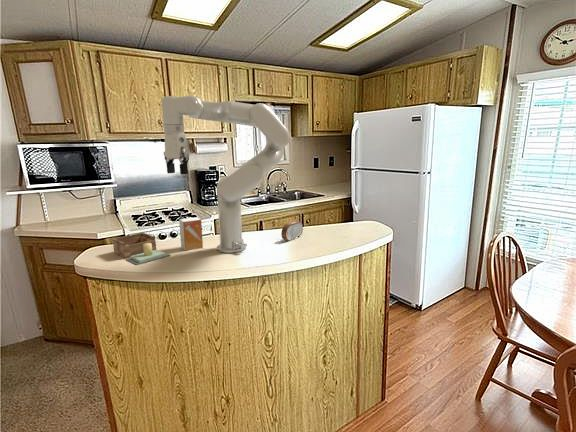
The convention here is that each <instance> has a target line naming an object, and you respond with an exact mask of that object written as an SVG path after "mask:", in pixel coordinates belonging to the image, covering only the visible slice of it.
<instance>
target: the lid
mask: <svg viewBox="0 0 576 432" xmlns="http://www.w3.org/2000/svg"><path fill="white" fill-rule="evenodd" d="M143 250H144V253H141V254H137V255H133V256H130V257H131V259H133V260H135V261H137V262H139V263H142V262H145V261H149V260H152V259H156V258H160V257H163V256H166V252H163V251H162V250H158V249H156V250H153V251H152V243H145V244H143Z"/></svg>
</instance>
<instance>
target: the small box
mask: <svg viewBox="0 0 576 432" xmlns="http://www.w3.org/2000/svg"><path fill="white" fill-rule="evenodd" d="M178 222H179V236H180V237H179V238H180V247H181V249H182V250H184V251H190V250H198V249H204V242H203V228H202V227H203V226H202V224H203V223H202V218H199V217H197V216H196V217H187V218H181V219H178Z"/></svg>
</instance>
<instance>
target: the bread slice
mask: <svg viewBox="0 0 576 432" xmlns="http://www.w3.org/2000/svg"><path fill="white" fill-rule="evenodd" d="M303 230H304V225H303V223H302V221H298V220H293V221H289V222H286V223H285V224H284V225H283V226H282V229H281V238H282V240H284V241H286V242H287V241H288V242H290V240H291V241H293V240H295V239H294V238H296V237H298V236H300V235H301V236H302V234H303ZM301 236H300V237H301ZM298 238H299V237H298ZM292 239H293V240H292ZM296 239H297V238H296Z"/></svg>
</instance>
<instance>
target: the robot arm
mask: <svg viewBox="0 0 576 432" xmlns="http://www.w3.org/2000/svg"><path fill="white" fill-rule="evenodd" d="M161 109H162V110H161V112H162V124H163V133H164V151H163V156H164V160H165V165H166V172H167V174H175V173H176V168H175V167H176V166H175V162H174V161H175V160H178V161H179V163H180V164H179V173H180V175H188V174H189V166H188V165H189V160H190V152H189V148H188V141H187V137H186V134H185V124H184V122H185V121H184V116H188V117H190V118H191V119H198V120H204V121H211V122H219V123H225V124H233V125H241V126H248V127H255V128H256V127H257V128H258V129H259V131H260V132H261V133H262V135H263V136H264V137H265V142H266V143H265V147H264V148H263V149H262V150H261V151H260V152H259V153H257V154H256V155H254V157H252V158H250V159H249V160H247V161H246V162H244V163H242V164H241V165H240V166H239V168H238V169H236V170H235V171H234V172H233V173H232V174H230V175H227V176H223V177H221V178H219V180H218V182H217V186H216V194H217V208H218V209H217V210H218V226H219V227H218V228H219V229H218V231H219V232H218V233H219V244H218V245H217V246H216V251H217V252H219V253H224V254H227V253H228V254H231V253H233V254H234V253H239V252H242V251H244V250H246V249H247V246H248V243H246V242H244V239H243V233H242V232H243V231H242V230H243V229H242V228H243V227H242V205H241V204H242V203H241V198H242V197H244V195H246V194H248V193H249V192H250V191H252V190H254V189H255V188H256V187H258V186H259V184H261V182H262V181H263V179H264V175H266V174H267V173H268V172H269V171H271V170H272V169H273V168H275V167H276V166H277V165H279V163H280V161H281V160H282V158H283V155H284V152H285V147H286V146H288V144H289V142H290V139H291V138H290V137H291V136H290V135H291V134H290V132H289V130H288V128H287V127H286V126H285V125H284V124H283V123H282V122H281V120H280V118H278V116H277V115H276V114H275V113H274V112H273V110H272V109H271V108H270V107H269V106H268V105H267V104H265V103H263V102H262V103H261V102H259V103H258V102H257V103H256V104H251V103H245V102H240V101H239V102H238V101H233V100H225V101H221V102H214V101H205V100H200V98H199V97H197V96H194V95H185V96H173V95H167V96H163V97H162V98H161Z"/></svg>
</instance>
